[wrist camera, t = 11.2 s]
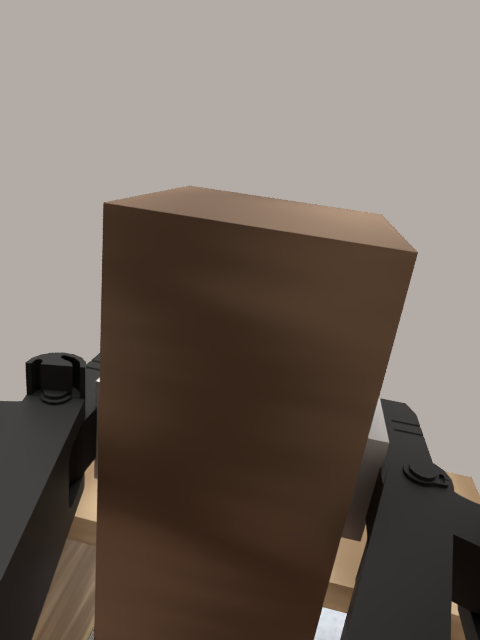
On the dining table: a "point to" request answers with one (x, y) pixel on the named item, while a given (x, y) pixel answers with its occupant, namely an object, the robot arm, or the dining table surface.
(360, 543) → the wooden side table
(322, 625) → the dining table surface
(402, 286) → the walnut block
